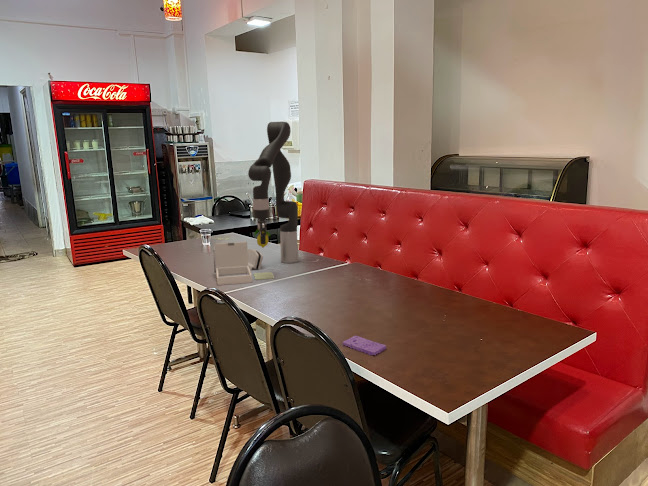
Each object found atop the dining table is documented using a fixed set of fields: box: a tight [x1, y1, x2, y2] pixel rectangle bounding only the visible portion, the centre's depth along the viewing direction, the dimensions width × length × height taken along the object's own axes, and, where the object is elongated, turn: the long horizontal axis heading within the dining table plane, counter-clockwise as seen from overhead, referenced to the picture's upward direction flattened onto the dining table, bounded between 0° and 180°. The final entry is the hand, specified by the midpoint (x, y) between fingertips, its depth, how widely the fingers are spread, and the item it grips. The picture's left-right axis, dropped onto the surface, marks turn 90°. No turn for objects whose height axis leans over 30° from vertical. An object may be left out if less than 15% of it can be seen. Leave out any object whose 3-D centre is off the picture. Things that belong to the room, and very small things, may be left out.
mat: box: [252, 271, 275, 281], centre depth 240 cm, size 9×11×1 cm
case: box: [212, 241, 253, 286], centre depth 236 cm, size 17×20×16 cm
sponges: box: [342, 335, 387, 356], centre depth 156 cm, size 7×13×2 cm, turn 49°
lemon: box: [253, 229, 271, 249], centre depth 236 cm, size 7×6×10 cm
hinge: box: [247, 248, 264, 271], centre depth 260 cm, size 17×5×10 cm, turn 29°
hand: (262, 242), depth 237 cm, fingers closed on lemon, 5 cm apart
